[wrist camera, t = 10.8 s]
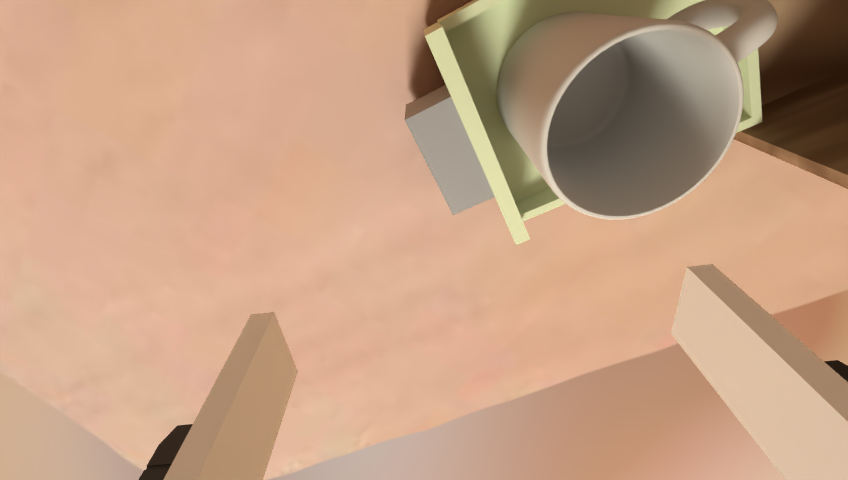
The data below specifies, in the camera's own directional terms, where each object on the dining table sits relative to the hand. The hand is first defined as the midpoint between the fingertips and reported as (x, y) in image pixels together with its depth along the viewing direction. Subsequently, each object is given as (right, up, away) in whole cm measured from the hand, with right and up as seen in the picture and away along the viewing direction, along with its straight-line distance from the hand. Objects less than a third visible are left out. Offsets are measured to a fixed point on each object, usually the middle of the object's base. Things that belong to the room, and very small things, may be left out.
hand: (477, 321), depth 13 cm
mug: (+9, +14, +13) cm, 21 cm away
